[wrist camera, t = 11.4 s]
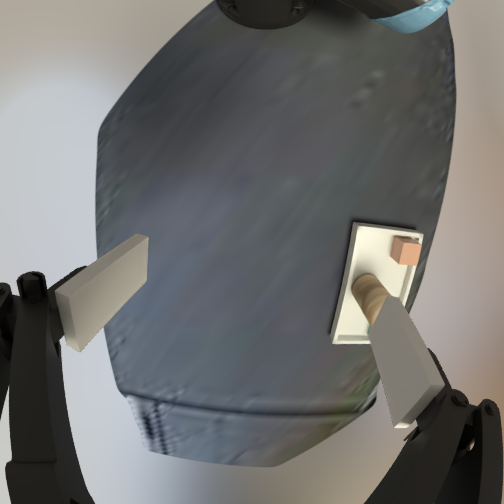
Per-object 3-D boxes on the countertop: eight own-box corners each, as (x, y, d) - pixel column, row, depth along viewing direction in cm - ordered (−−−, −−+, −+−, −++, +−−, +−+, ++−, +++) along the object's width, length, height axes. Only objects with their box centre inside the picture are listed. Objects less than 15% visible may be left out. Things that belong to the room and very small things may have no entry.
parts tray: (353, 221, 41) (358, 225, 39) (416, 230, 41) (423, 234, 38) (329, 335, 48) (332, 343, 46) (387, 335, 48) (391, 343, 45)
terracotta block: (394, 236, 40) (403, 242, 37) (411, 238, 40) (421, 244, 37) (390, 256, 41) (398, 264, 38) (407, 258, 41) (416, 265, 38)
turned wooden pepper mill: (354, 272, 43) (378, 306, 32) (381, 274, 43) (410, 306, 32) (348, 299, 44) (368, 338, 34) (374, 300, 44) (398, 337, 34)
